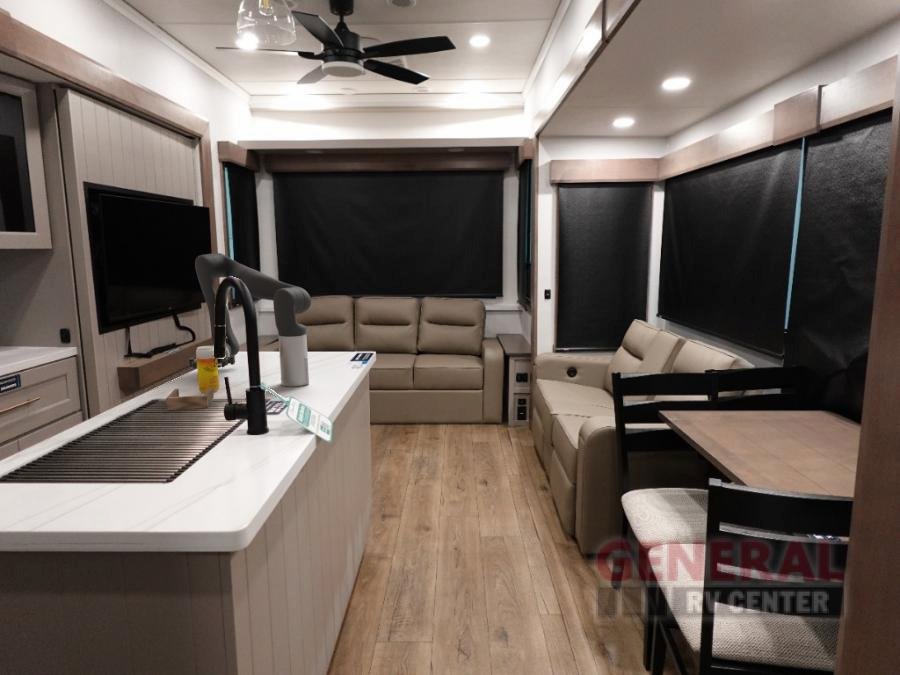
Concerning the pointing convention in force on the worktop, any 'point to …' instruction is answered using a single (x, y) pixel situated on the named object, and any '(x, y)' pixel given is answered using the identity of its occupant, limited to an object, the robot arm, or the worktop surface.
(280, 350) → the robot arm
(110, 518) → the worktop surface
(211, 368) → the amber medicine vial
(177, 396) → the can holder
